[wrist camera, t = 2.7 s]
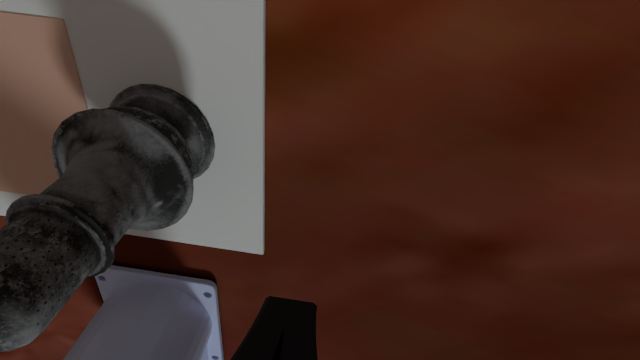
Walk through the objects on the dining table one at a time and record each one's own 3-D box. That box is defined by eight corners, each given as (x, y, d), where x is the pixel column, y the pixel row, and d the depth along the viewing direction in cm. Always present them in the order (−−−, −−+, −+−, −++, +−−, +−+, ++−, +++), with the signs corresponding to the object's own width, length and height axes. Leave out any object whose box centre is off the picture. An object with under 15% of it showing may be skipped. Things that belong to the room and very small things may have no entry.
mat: (264, 251, 23) (262, 255, 23) (-87, 198, 24) (-93, 202, 24) (265, -12, 15) (263, -11, 15) (-257, -71, 16) (-268, -70, 16)
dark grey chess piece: (79, 121, 19) (-241, 340, 9) (152, 50, 17) (-177, 245, 7) (169, 203, 21) (-10, 450, 11) (246, 151, 19) (101, 407, 9)
